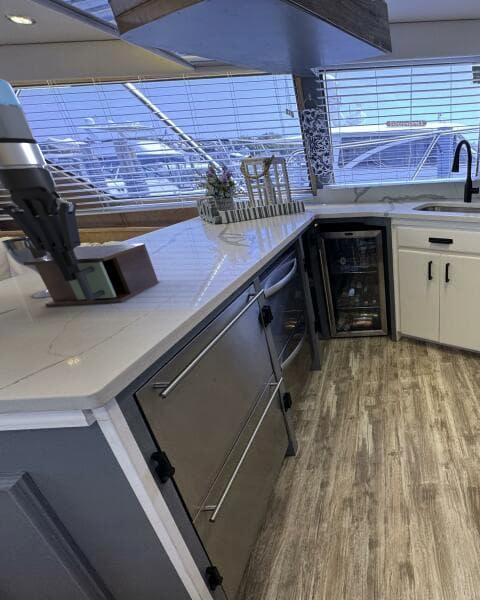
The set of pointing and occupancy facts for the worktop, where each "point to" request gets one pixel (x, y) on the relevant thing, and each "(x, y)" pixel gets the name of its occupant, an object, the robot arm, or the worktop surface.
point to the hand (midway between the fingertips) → (74, 278)
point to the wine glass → (25, 255)
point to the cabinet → (118, 264)
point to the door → (92, 282)
